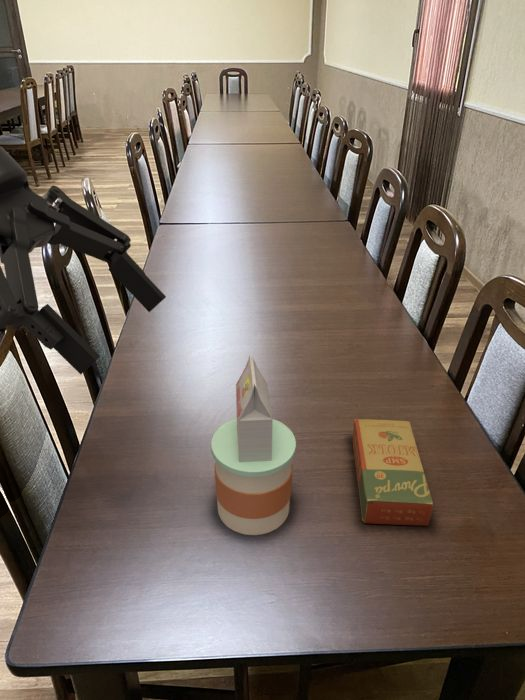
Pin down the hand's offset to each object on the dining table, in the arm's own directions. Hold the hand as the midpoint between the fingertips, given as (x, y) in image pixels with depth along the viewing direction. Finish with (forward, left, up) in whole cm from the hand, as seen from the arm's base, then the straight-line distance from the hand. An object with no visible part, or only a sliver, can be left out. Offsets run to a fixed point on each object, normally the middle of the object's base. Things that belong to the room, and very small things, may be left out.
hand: (127, 332), depth 55 cm
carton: (+28, +14, -26) cm, 41 cm away
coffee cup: (+12, +4, -26) cm, 29 cm away
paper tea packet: (+12, +4, -15) cm, 20 cm away
